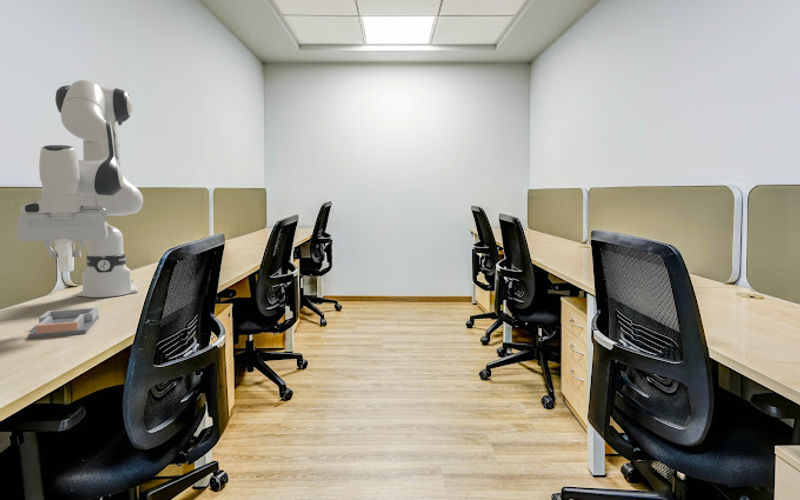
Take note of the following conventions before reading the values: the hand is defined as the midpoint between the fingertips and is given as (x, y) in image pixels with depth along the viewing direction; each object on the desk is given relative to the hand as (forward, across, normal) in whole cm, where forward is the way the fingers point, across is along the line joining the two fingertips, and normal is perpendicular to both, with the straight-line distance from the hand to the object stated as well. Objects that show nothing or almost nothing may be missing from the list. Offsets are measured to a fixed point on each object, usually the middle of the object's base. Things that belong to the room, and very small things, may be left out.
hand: (65, 257), depth 132 cm
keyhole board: (+18, 0, +5) cm, 19 cm away
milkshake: (+4, 0, 0) cm, 4 cm away
